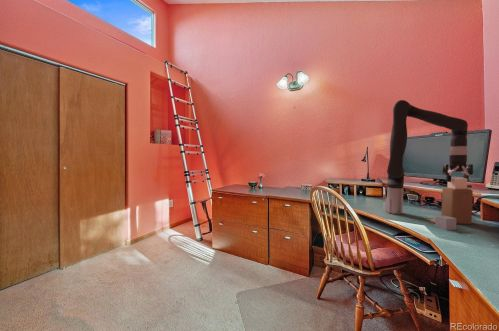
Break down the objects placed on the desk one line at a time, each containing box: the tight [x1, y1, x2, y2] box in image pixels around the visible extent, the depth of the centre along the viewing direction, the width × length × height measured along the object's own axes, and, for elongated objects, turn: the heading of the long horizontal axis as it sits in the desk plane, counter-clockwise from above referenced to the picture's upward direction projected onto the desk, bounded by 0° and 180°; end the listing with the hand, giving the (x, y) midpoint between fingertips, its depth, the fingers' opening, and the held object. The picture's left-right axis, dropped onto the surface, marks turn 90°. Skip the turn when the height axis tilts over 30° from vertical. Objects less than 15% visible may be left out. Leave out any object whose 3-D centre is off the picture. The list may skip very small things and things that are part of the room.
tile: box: [424, 218, 435, 224], centre depth 131 cm, size 8×8×1 cm
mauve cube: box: [434, 215, 457, 231], centre depth 119 cm, size 6×6×6 cm
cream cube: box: [446, 177, 468, 189], centre depth 129 cm, size 6×6×6 cm
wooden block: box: [441, 186, 474, 225], centre depth 130 cm, size 10×10×20 cm
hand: (457, 181), depth 129 cm, fingers open, 8 cm apart
